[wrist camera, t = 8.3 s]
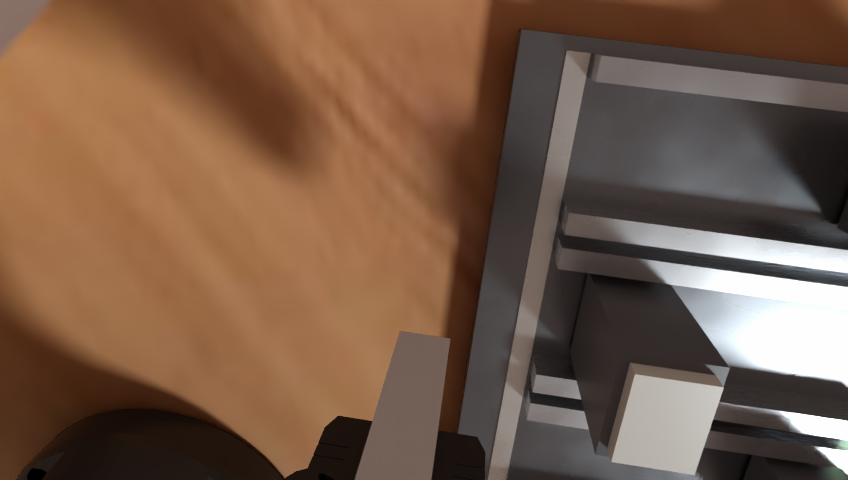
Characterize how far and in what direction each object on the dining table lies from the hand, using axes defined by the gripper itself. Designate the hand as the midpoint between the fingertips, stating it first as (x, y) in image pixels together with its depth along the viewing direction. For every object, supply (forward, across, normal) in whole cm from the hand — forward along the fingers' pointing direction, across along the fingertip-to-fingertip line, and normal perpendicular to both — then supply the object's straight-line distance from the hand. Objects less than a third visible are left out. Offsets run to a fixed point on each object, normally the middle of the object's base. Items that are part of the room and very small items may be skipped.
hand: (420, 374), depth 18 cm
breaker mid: (+6, +7, 0) cm, 9 cm away
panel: (+8, +10, 0) cm, 12 cm away
